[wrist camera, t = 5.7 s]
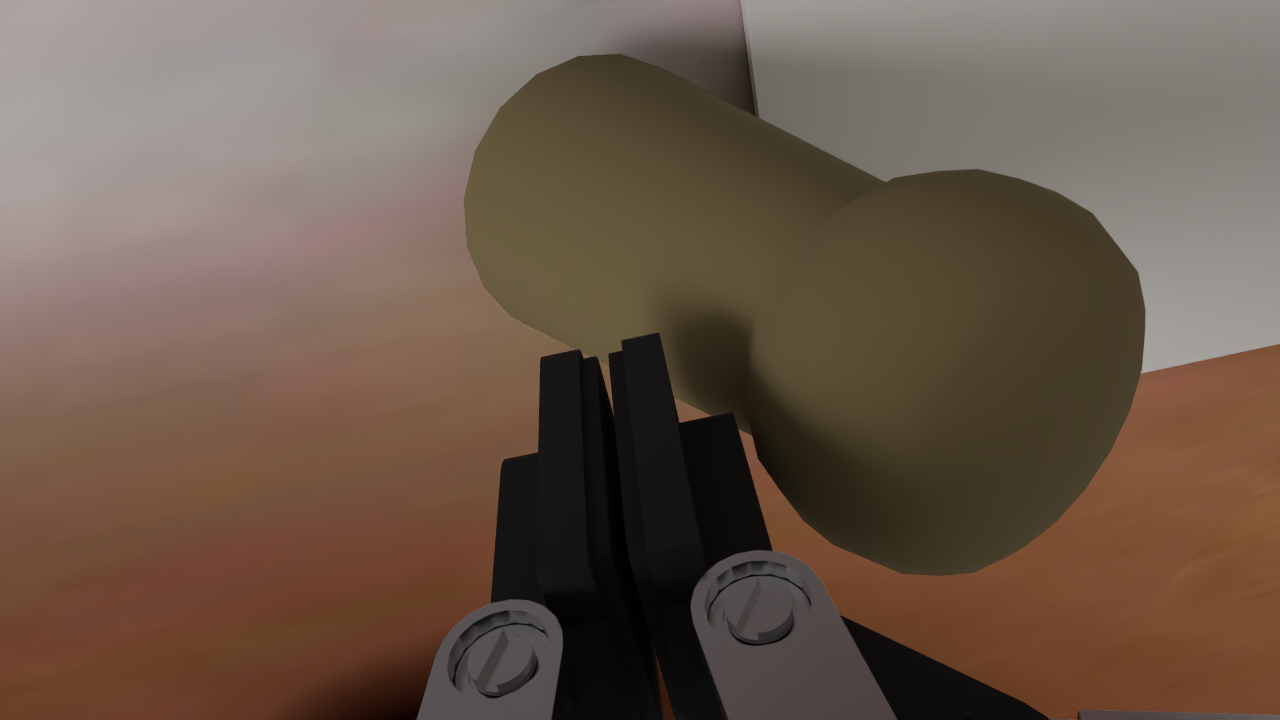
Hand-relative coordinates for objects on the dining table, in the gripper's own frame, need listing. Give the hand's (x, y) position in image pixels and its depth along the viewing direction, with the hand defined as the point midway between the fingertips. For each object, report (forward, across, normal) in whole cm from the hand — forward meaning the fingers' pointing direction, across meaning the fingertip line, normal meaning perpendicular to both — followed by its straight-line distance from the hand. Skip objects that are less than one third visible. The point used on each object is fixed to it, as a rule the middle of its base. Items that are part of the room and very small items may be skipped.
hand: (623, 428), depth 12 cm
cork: (+8, 0, 0) cm, 8 cm away
